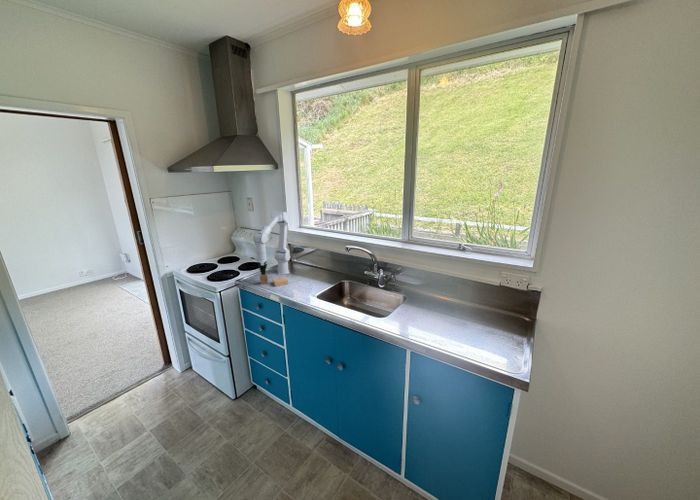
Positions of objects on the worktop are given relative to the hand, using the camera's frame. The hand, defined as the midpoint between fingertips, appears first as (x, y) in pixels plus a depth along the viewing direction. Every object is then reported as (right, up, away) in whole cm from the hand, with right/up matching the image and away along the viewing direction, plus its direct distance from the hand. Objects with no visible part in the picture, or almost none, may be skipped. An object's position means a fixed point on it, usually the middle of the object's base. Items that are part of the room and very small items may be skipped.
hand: (263, 272), depth 182 cm
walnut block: (0, -7, +2) cm, 7 cm away
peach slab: (+11, -7, +1) cm, 13 cm away
